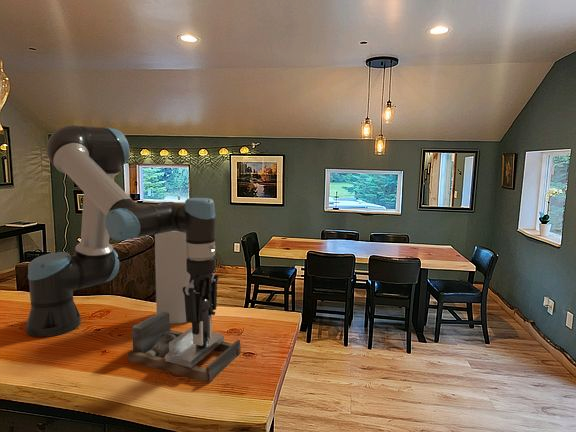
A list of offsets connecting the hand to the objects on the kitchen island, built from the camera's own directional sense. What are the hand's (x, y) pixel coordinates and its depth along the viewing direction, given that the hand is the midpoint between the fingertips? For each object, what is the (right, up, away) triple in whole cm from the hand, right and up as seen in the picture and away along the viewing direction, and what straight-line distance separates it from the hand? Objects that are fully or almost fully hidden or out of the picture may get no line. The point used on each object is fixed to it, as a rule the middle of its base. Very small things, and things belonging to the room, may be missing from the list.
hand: (202, 340), depth 107 cm
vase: (-15, -1, +30) cm, 34 cm away
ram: (-2, -5, +2) cm, 6 cm away
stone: (-12, -6, +5) cm, 14 cm away
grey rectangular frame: (-5, -6, +3) cm, 8 cm away
